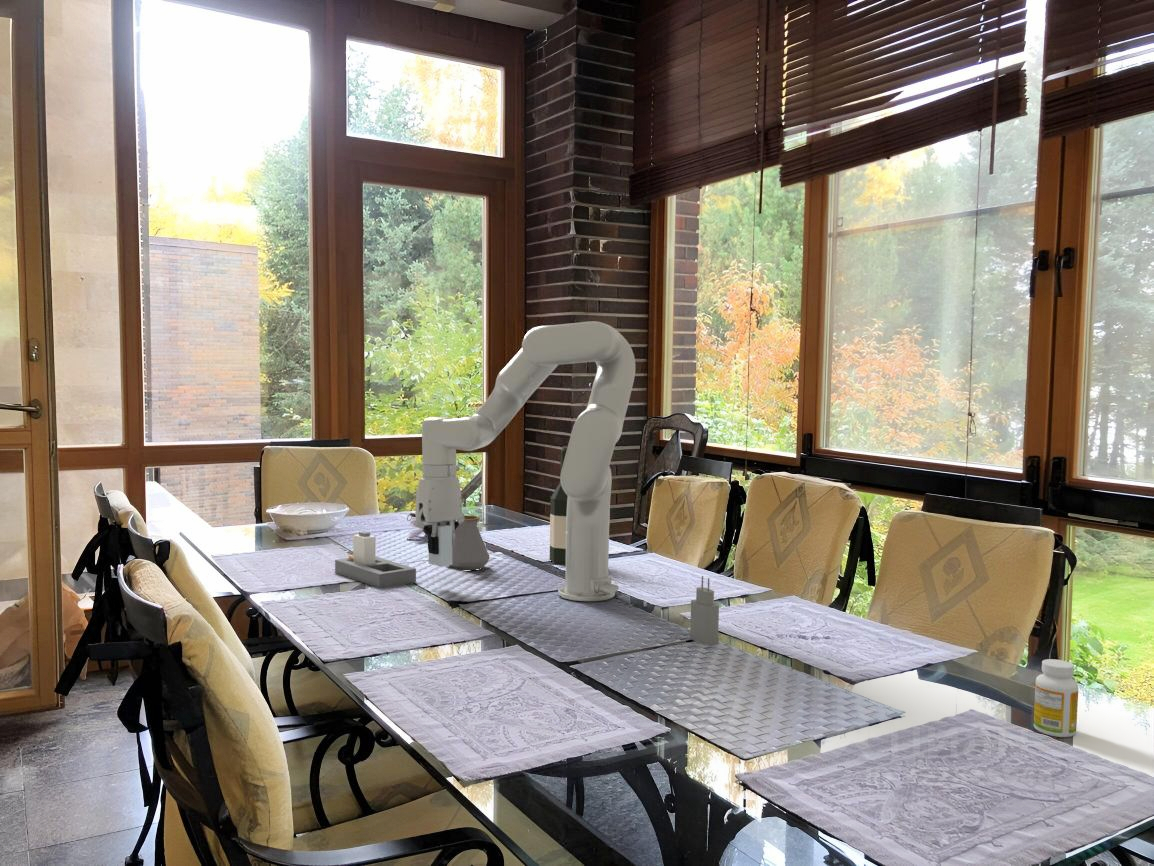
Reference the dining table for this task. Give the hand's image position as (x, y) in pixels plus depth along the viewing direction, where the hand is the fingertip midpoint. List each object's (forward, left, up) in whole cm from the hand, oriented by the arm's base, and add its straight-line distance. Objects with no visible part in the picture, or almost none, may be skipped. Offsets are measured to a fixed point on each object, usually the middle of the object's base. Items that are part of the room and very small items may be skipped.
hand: (440, 551), depth 209 cm
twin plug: (+19, +8, -7) cm, 22 cm away
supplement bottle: (-126, -18, -8) cm, 127 cm away
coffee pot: (+13, -12, -8) cm, 20 cm away
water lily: (+54, -32, -9) cm, 64 cm away
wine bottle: (+3, -42, -8) cm, 43 cm away
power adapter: (-66, -14, -8) cm, 67 cm away
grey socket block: (+14, +8, -8) cm, 18 cm away
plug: (0, 0, -3) cm, 3 cm away
